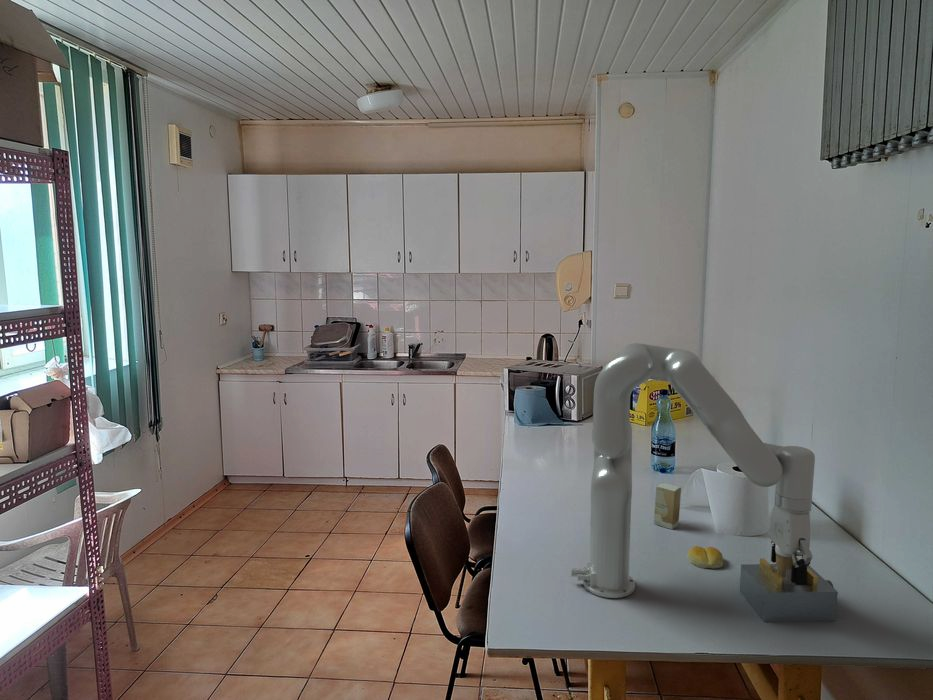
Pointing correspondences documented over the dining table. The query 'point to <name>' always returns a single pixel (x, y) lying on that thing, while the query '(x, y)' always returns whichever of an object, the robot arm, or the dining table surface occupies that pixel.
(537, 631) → the dining table surface
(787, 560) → the sprinkles bottle
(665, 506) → the skincare box
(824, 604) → the grey holder box
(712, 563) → the bread roll
